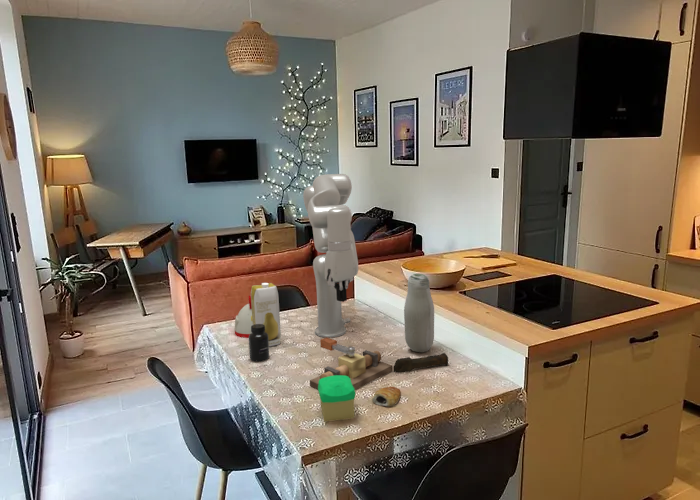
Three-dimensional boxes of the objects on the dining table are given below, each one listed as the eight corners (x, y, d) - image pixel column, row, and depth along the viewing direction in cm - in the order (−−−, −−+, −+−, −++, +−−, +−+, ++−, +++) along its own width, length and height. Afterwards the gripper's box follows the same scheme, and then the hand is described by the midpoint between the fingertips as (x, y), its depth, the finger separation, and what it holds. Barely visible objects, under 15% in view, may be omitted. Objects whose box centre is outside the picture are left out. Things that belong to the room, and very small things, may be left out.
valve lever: (357, 355, 161) (356, 347, 160) (350, 358, 159) (350, 350, 158) (326, 344, 170) (326, 336, 170) (320, 347, 168) (320, 339, 168)
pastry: (386, 390, 154) (386, 379, 153) (406, 396, 150) (406, 384, 149) (370, 404, 146) (370, 391, 145) (391, 410, 142) (391, 397, 141)
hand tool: (443, 362, 173) (443, 349, 172) (449, 366, 169) (449, 353, 168) (390, 370, 168) (390, 357, 167) (395, 375, 164) (394, 361, 163)
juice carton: (259, 350, 188) (254, 286, 183) (252, 343, 195) (248, 282, 190) (283, 344, 192) (279, 283, 187) (276, 338, 199) (272, 278, 194)
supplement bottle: (265, 362, 176) (263, 329, 174) (246, 361, 177) (244, 329, 175) (272, 355, 183) (270, 323, 180) (254, 354, 184) (252, 322, 182)
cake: (322, 425, 135) (320, 390, 133) (317, 405, 145) (316, 373, 144) (358, 420, 137) (357, 386, 135) (351, 402, 147) (350, 369, 145)
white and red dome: (235, 339, 199) (232, 302, 196) (234, 328, 212) (231, 293, 209) (271, 335, 202) (268, 299, 199) (268, 324, 215) (266, 290, 212)
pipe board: (365, 361, 175) (365, 341, 173) (392, 371, 166) (392, 350, 165) (310, 386, 157) (308, 364, 156) (336, 398, 149) (335, 375, 148)
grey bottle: (439, 349, 183) (439, 273, 177) (422, 358, 176) (422, 279, 170) (416, 343, 190) (415, 269, 184) (399, 351, 182) (398, 275, 177)
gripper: (347, 241, 174) (349, 294, 177) (314, 248, 163) (317, 303, 167) (363, 244, 168) (365, 297, 172) (330, 251, 158) (333, 308, 161)
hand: (341, 300), depth 169 cm, fingers closed
